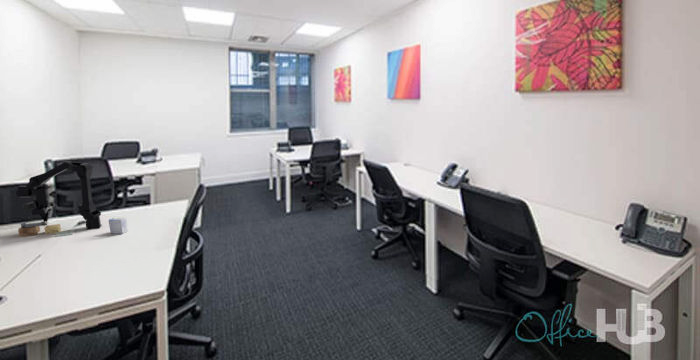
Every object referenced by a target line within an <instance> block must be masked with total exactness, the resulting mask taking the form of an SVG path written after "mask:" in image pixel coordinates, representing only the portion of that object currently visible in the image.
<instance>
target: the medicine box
mask: <svg viewBox="0 0 700 360" xmlns="http://www.w3.org/2000/svg"><path fill="white" fill-rule="evenodd" d="M108 224H109V225H108V226H109V232H110V234H121V235H123V234H125V233H127V232H129V229H128V222H127V217H119V216H118V217H116V216H114V217H111V218H109V219H108Z"/></svg>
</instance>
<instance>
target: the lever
mask: <svg viewBox="0 0 700 360" xmlns="http://www.w3.org/2000/svg"><path fill="white" fill-rule="evenodd" d="M47 225H48V221H44V220H43V221H40V222H38V221H37V222H30V223H27V222H21V223H20V228H26V227H35V226H39V227H42V226H43V227H46V226H47Z"/></svg>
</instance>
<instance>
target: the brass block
mask: <svg viewBox="0 0 700 360" xmlns="http://www.w3.org/2000/svg"><path fill="white" fill-rule="evenodd" d="M58 232H62V227H61V223H57V224H47V225H45V226H44V234H45V235H49V234H57V233H58Z"/></svg>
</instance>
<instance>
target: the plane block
mask: <svg viewBox="0 0 700 360" xmlns="http://www.w3.org/2000/svg"><path fill="white" fill-rule="evenodd" d="M17 231H18V234H19V238H21V237H22V238H23V237H29V236H36V235H37V234H38V233H40V232H41V228H40V226H35V227H26V228H21V227H20V228H18V229H17Z"/></svg>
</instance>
